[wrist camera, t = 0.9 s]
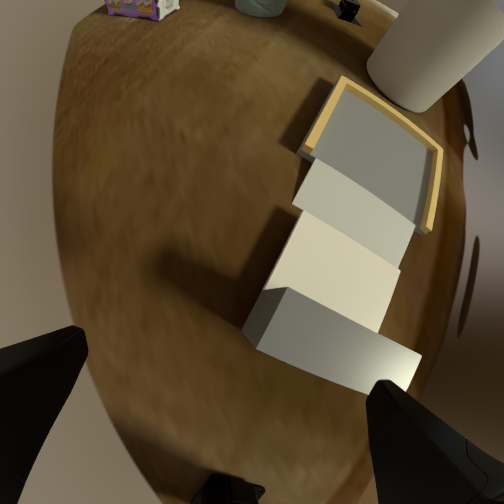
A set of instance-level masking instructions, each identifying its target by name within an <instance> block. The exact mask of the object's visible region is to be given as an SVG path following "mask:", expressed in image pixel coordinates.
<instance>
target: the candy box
mask: <svg viewBox="0 0 504 504" xmlns="http://www.w3.org/2000/svg"><path fill="white" fill-rule="evenodd" d="M105 4H106V8H107V12H108V14H109V15H119V16H129V17H137V18H144V19H150V20H156V21H160V20H161V19H163V18H165V17H166V16H168V15H169V14H171V13H173V12H175V11H176V10H178V9H180V0H105Z"/></svg>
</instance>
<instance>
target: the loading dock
mask: <svg viewBox="0 0 504 504" xmlns="http://www.w3.org/2000/svg"><path fill="white" fill-rule="evenodd" d="M296 154H297V155H299V156H301V157H302V158H304V159H306V160H308V161H309V162H311V163H312V165H311V167H310V169H309V171H308V173H307V175H306V176H305V178H304V180H303V182H302V184H301V186H300V188H299V190H298V192H297V194H296V196H295V198H294V200H293V202H292V204H293V205H295V206H297V207H298V208H300V209H302V210H304V211H306V212H308V213H309V214H311V215H313V216H315V217H316V218H318V219H320V220H321V221H323V222H325V223H326V224H328V225H330V226H331V227H333V228H335V229H336V230H338V231H340V232H341V233H343V234H344V235H346V236H348V237H349V238H351V239H353V240H354V241H356V242H357V243H359V244H360V245H362V246H364V247H365V248H367V249H368V250H370V251H371V252H373V253H375V254H376V255H378V256H379V257H381V258H382V259H384V260H385V261H387V262H388V263H390V264H391V265H393V266H394V267H396V268H397V269H398V266H399V264H400V262H401V260H402V257H403V255H404V253H405V250H406V248H407V246H408V243H409V241H410V238H411V236H412V233H413V231H414V232H415V233H417V234H418V235H419V236H422V235H425V234H427V232H430V231H432V226H433V221H434V216H435V210H436V205H437V198H438V192H439V185H440V177H441V168H442V157H443V149H442V148H441V147H440V146H439V145H438V144H437V143H436V142H435V141H433V140H432V139H431V138H430V137H429V136H428V135H426V134H425V133H424V132H423V131H422V130H421V129H419V128H418V127H417V126H416V125H414V124H413V123H412V122H411V121H409V120H408V119H407V118H405V117H404V116H403V115H401V114H400V113H399V112H397V111H396V110H395V109H393V108H392V107H391V106H389V105H388V104H386V103H385V102H383V101H382V100H381V99H379V98H378V97H376V96H375V95H373V94H372V93H370V92H368V91H367V90H365V89H364V88H362V87H361V86H359V85H357V84H356V83H354V82H352V81H351V80H349V79H347V78H346V77H344V76H341V78H340V80H339V81H338V80H337V81H336V83H335V84H334V86H333V88H332V89H331V91H330V93H329V95H328V97H327V98H326V100H325V102H324V104H323V106H322V107H321V109H320V111H319V113H318V115H317V117H316V118H315V120H314V122H313V124H312V126H311V127H310V129H309V131H308V133H307V135H306V136H305V138H304V140H303V142H302V144H301V146H300V147H299V149H298V151H297V153H296Z"/></svg>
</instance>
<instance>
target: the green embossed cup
mask: <svg viewBox="0 0 504 504" xmlns="http://www.w3.org/2000/svg"><path fill="white" fill-rule="evenodd" d="M287 1H288V0H235V7H236V9H237V10H239V11H240V12H242V13H244V14H247V15H251V16H256V17H276V16H279V15H280V14H281V13H282V12H283V10H284V8H285V5H286V3H287Z"/></svg>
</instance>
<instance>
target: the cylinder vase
mask: <svg viewBox="0 0 504 504" xmlns="http://www.w3.org/2000/svg"><path fill="white" fill-rule="evenodd" d="M503 40H504V14H503V13H502V12H501V11H500V10H499V9H498V8H497V7H496V6H495V5H494V4H493V3H492V2H491V1H490V0H409V1H408V2H407V4H406V5H405V7H404V8H403V10H402V11H401V13H400V14H399V15H398V17H397V18H396V20H395V21H394V23H393V24H392V25H391V27H390V28H389V30H388V31H387V33H386V34H385V36H384V37H383V39H382V40H381V41H380V43H379V44H378V46H377V47H376V49H375V50H374V52H373V53H372V55H371V56H370V58H369V59H368V61H367V71H368V74H369V76H370V78H371V79H372V81H373V82H374V84H375V85H376V86H377V87H378V89H379V90H380V91H381V92H382V93H383V94H384V95H385V96H386V97H388V98H389V99H390V100H391V101H393V102H394V103H395V104H397V105H399V106H400V107H402V108H404V109H406V110H409V111H412V112H417V113H419V112H424V111H426V110H427V109H428V108H429V107H430V106H431V105H432V104H434V103H435V102H436V101H437V100H438V99H439V98H440V97H441V96H442V95H444V94H445V93H446V92H447V91H448V90H449V89H450V88H451V87H452V86H454V85H455V84H456V83H457V82H458V81H459V80H460V79H461V78H462V77H463V76H464V75H466V74H467V73H468V72H469V71H470V70H471V69H472V68H473V67H474V66H475V65H477V63H479V62H480V61H481V60H482V59H483V58H484V57H485V56H486V55H487V54H489V53H490V52H491V51H492V50H493V49H494V48H495V47H496V46H497V45H498V44H499V43H500V42H501V41H503Z"/></svg>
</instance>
